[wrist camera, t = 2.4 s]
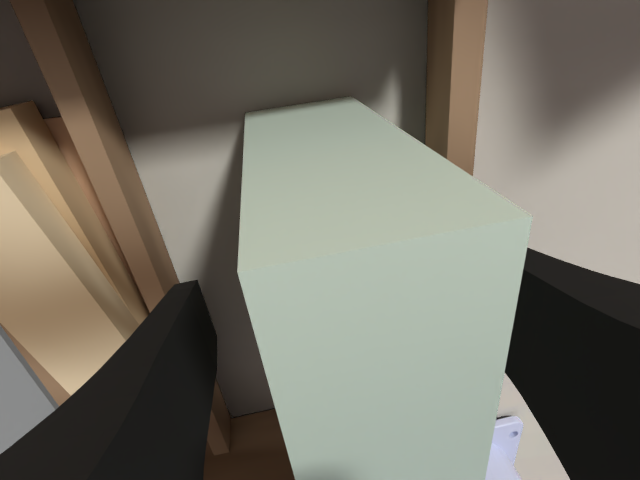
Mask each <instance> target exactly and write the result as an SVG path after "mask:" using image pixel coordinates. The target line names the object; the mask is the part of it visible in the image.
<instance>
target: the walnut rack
mask: <svg viewBox="0 0 640 480" xmlns="http://www.w3.org/2000/svg"><path fill="white" fill-rule="evenodd" d="M10 3H11V5H12V7H13V9H14V12H15V14H16V16H17V18H18V20H19V23H20V25H21V27H22V29H23V32H24V34H25V36H26V38H27V40H28V43H29V45H30V47H31V49H32V52H33V54H34V56H35V58H36V60H37V63H38V65H39V67H40V69H41V72H42V74H43V76H44V78H45V80H46V83H47V85H48V87H49V89H50V92H51V94H52V96H53V98H54V101H55V103H56V105H57V107H58V109H59V112H60V114H61V116H62V118H63V121H64V123H65V125H66V127H67V129H68V132H69V134H70V136H71V138H72V141H73V143H74V145H75V147H76V149H77V152H78V154H79V156H80V158H81V161H82V163H83V165H84V167H85V169H86V172H87V174H88V176H89V178H90V181H91V183H92V185H93V187H94V190H95V192H96V194H97V196H98V198H99V201H100V203H101V205H102V207H103V210H104V212H105V214H106V216H107V218H108V221H109V223H110V225H111V227H112V230H113V232H114V234H115V236H116V238H117V241H118V243H119V245H120V247H121V250H122V252H123V254H124V256H125V258H126V261H127V263H128V265H129V267H130V270H131V272H132V274H133V276H134V279H135V281H136V283H137V285H138V287H139V290H140V292H141V294H142V296H143V299H144V301H145V303H146V305H147V307H148V310H149V312H150V313H151V311H152V310H153V309H154V308H155V307H156V305H157V304H158V303H159V302H160V301H161V299H162V298H163V297H164V296H165V295H166V293H167V292H168V291H169V290H170V289H171V288H172V287H173V285H174V284H179V280H178V278H177V275H176V272H175V270H174V267H173V264H172V262H171V259H170V257H169V254H168V251H167V249H166V246H165V243H164V241H163V238H162V235H161V233H160V230H159V227H158V225H157V222H156V220H155V217H154V214H153V212H152V209H151V206H150V204H149V201H148V198H147V196H146V193H145V191H144V188H143V185H142V183H141V180H140V177H139V175H138V172H137V169H136V167H135V164H134V161H133V159H132V156H131V154H130V151H129V148H128V146H127V143H126V140H125V138H124V135H123V132H122V130H121V127H120V125H119V122H118V119H117V117H116V114H115V111H114V109H113V106H112V103H111V101H110V98H109V95H108V93H107V90H106V88H105V85H104V82H103V80H102V77H101V74H100V72H99V69H98V66H97V64H96V61H95V59H94V56H93V53H92V51H91V48H90V45H89V43H88V40H87V37H86V35H85V32H84V29H83V27H82V24H81V22H80V19H79V16H78V14H77V11H76V8H75V6H74V3H73V0H10ZM487 7H488V0H428V30H427V79H426V129H425V145H426V146H427V147H429V148H430V149H432V150H433V151H435V152H436V153H438V154H440V155H441V156H443V157H444V158H446V159H447V160H449V161H450V162H452V163H453V164H455V165H456V166H458V167H459V168H461V169H462V170H464V171H465V172H467V173H468V174H470V175H471V176H473V167H474V156H475V144H476V133H477V121H478V110H479V98H480V87H481V76H482V64H483V53H484V41H485V30H486V18H487ZM0 325H1V327H2V328H3V329H4V331H5V332H6V333H7V335H8V336H9V338H10V339H11V340H12V342H13V343H14V345H15V346H16V347H17V349H18V350H19V351H20V353H21V354H22V356H23V357H24V358H25V360H26V361H27V363H28V364H29V365H30V367H31V368H32V369H33V371H34V372H35V374H36V375H37V376H38V378H39V379H40V381H41V382H42V383H43V385H44V386H45V387H46V389H47V390H48V392H49V393H50V394H51V396H52V397H53V399H54V400H55V401H56V403H57V404H58V405H59V406H60V405H62V404H63V403H64V402H65V401H66V400H67V399H68V398H69V397H70V396H71V395H70V394H69V393H68V392H67V391H66V390H65V389H64V388H63V387H62V386H61V385H60V384H59V383H58V382H57V381H56V380H55V379H54V378H53V377H52V376H51V375H50V374H49V373H48V372H47V371H46V369H45V368H44V367H43V366H42V365H41V364H40V363H39V362H38V361H37V360H36V359H35V358H34V357H33V356H32V355H31V354H30V353H29V352H28V351H27V350H26V349H25V348H24V347H23V346H22V345H21V344H20V343H19V342H18V341H17V340H16V338H15V337H14V336H13V335H12V334H11V333H10V332H9V331H8V330H7V329H6V328H5V327H4V326H3V325H2V324H1V323H0ZM203 480H295V477H294V474H293V470H292V467H291V463H290V459H289V456H288V452H287V449H286V445H285V441H284V438H283V434H282V431H281V427H280V424H279V420H278V416H277V413H276V409H272V410H268V411H263V412H259V413H254V414H250V415H245V416H241V417H236V418H230V415H229V412H228V410H227V407H226V404H225V402H224V399H223V396H222V394H221V391H220V389H219V386H218V383H217V381H216V379H215V386H214V394H213V401H212V408H211V415H210V422H209V430H208V437H207V444H206V451H205V462H204V475H203Z"/></svg>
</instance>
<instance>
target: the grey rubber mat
mask: <svg viewBox="0 0 640 480" xmlns="http://www.w3.org/2000/svg"><path fill="white" fill-rule="evenodd" d="M58 407H59V405H58V404H57V403H56V401H55V400H54V399H53V397H52V396H51V394H50V393H49V392H48V390H47V389H46V387H45V386H44V385H43V383H42V382H41V381H40V379H39V378H38V376H37V375H36V374H35V372H34V371H33V369H32V368H31V367H30V365H29V364H28V363H27V361H26V360H25V358H24V357H23V356H22V354H21V353H20V351H19V350H18V349H17V347H16V346H15V345H14V343H13V342H12V340H11V339H10V338H9V336H8V335H7V333H6V332H5V331H4V329H3V328H2V327H1V325H0V454H1V453H3V452H4V451H5V450H6V449H8V448H9V447H10V446H12V445H13V444H14V443H15V442H16V441H18V440H19V439H20V438H21V437H23V436H24V435H25V434H26V433H28V432H29V431H30V430H31V429H33V428H34V427H35V426H36V425H37V424H39V423H40V422H41V421H42V420H44V419H45V418H46V417H47V416H49V415H50V414H51V413H52V412H53V411H55V410H56V409H57V408H58Z"/></svg>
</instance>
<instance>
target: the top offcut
mask: <svg viewBox="0 0 640 480" xmlns="http://www.w3.org/2000/svg"><path fill="white" fill-rule="evenodd" d="M0 323H1V324H2V325H3V326H4V327H5V328H6V329H7V330H8V331H9V332H10V333H11V334H12V335H13V336H14V337H15V338H16V340H17V341H18V342H19V343H20V344H21V345H22V346H23V347H24V348H25V349H26V350H27V351H28V352H29V353H30V354H31V355H32V356H33V357H34V358H35V359H36V360H37V361H38V362H39V363H40V364H41V365H42V366H43V367H44V368H45V369H46V371H47V372H48V373H49V374H50V375H51V376H52V377H53V378H54V379H55V380H56V381H57V382H58V383H59V384H60V385H61V386H62V387H63V388H64V389H65V390H66V391H67V392H68V393H69V394H70V395H73V394H74V393H75V392H76V391H77V390H78V389H79V388H80V387H81V386H82V385H84V384H85V383H86V382H87V381H88V380H89V379H90V378H91V377H92V376H93V375H94V374H95V373H96V372H97V371H98V370H99V369H100V368H101V367H102V366H103V365H104V364H105V363H106V362H107V361H108V359H109V358H110V357H111V356H112V355H113V354H114V353H115V352H116V351H117V350H118V349H119V348H120V347H121V346H122V345H123V343H124V342H125V341H126V340H127V339H128V338H129V337H130V336H131V335H132V334H133V332H134V331H135V330H136V329H137V328H138V327H139V324H138V322H137V321H136V320H135V318H134V317H133V315H132V314H131V313H130V311H129V310H128V308H127V307H126V306H125V304H124V303H123V301H122V300H121V299H120V297H119V296H118V294H117V293H116V291H115V290H114V289H113V287H112V286H111V284H110V283H109V282H108V280H107V279H106V277H105V276H104V275H103V273H102V272H101V270H100V269H99V268H98V266H97V265H96V263H95V262H94V261H93V259H92V258H91V256H90V255H89V254H88V252H87V251H86V249H85V248H84V246H83V245H82V244H81V242H80V241H79V239H78V238H77V237H76V235H75V234H74V232H73V231H72V230H71V228H70V227H69V225H68V224H67V223H66V221H65V220H64V218H63V217H62V216H61V214H60V213H59V211H58V210H57V209H56V207H55V206H54V204H53V203H52V202H51V200H50V199H49V197H48V196H47V194H46V193H45V192H44V190H43V189H42V187H41V186H40V185H39V183H38V182H37V180H36V179H35V178H34V176H33V175H32V173H31V172H30V171H29V169H28V168H27V166H26V165H25V164H24V162H23V161H22V159H21V158H20V157H19V155H18V154H17V152H16V151H13V152H10V153H6V154H3V155H0Z"/></svg>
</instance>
